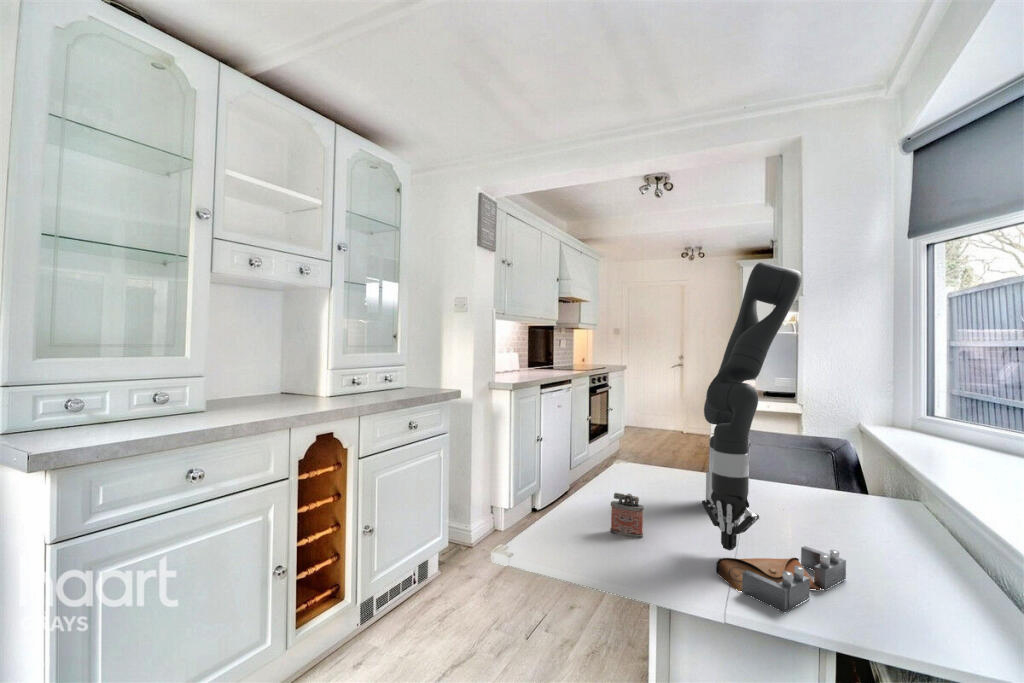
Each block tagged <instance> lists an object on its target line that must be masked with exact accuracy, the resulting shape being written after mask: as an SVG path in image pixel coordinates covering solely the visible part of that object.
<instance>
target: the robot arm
mask: <svg viewBox="0 0 1024 683" xmlns="http://www.w3.org/2000/svg"><path fill="white" fill-rule="evenodd" d="M802 278H803V277H802V274H801V272H800V271H799V270H797V269H793V268H789V267H785V266H780V265H776V264H772V263H768V262H758V263H756V264H755V265H754V266H753V269H751V271H750V275H749V277H748V280H747V282H746V286H745V290H744V293H743V298H742V301H741V304H740V305H741V306H740V309H739V312H738V315H737V318H736V321H735V324H734V327H733V330H732V332H731V334H730V336H729V340H728V342H727V345H726V348H725V351H724V353H723V358H722V361H721V364H720V367H719V369H718V372H717V374H716V376H715V377H714V378H713V379H712V381H711V382H710V384H709V386H708V388H707V390H706V396H705V397H706V398H705V401H704V406H703V414H704V415H703V416H704V419H705V420H706V422H707V423H709V424H712V425H715V426H714V429H713V436H711V437H709V460H708V461H709V463H708V464H709V465H708V466H709V467H708V468H709V470H708V471H706V472H705V499H704V500H702V501H701V504H702V507H703V509H704V510H705V512H706V514H707V515H708V517H709V520H710V522H711V523H712V525H713V526H714V527H717V528H718V529H719V530H720V532H721V533H720V543H721V545H722V548H723V549H725V550H727V551H729V552H730V551H733V550H734V549H735V548H736V547H737V538H738V537H737V535H739V534H742V533H746V531H747V530H749V529H750V528H751V527H752V526H753V525H754V524H755V523H756V522H758V520H759V519H760V516H759V514H758V513H754V512H753V511H752V510H751V508H750V503H749V501H748V495H749V481H750V480H749V478H750V476H749V474H750V461H749V435H750V431H751V427H752V423H753V420H754V417H755V415H756V411H757V409H758V405H759V396H758V395H759V394H758V392H757V390H756V388H755V387H754V386H753V385H752V384H750V383H746V382H747V381H751V380H754V379H756V378H758V376H760V373H761V371H762V368H763V365H764V363H765V359H766V357H767V355H768V352H769V349H770V348H771V345H772V343H773V341H774V339H775V338H776V336H777V334H778V332H779V330H780V328H781V327H782V325H783V323H784V321H785V319H786V317H787V315H788V313H789V312H790V309H791V308H792V305H793V304H794V301H795V299H796V297H797V295H798V292H799V291H800V287H801V285H802V284H801V283H802ZM758 301H759V302H762V303H765V304H769V305H772V306H774V308H773V309H772V311H770V313H768V315H766V316H765V317H764V318H762V319H761V320H759V318H758V317H759V316H758V311H757V310H758V308H757V307H758V306H757V304H758V303H757V302H758ZM745 381H746V382H745ZM742 516H743V520H742V521H741V517H742Z"/></svg>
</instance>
